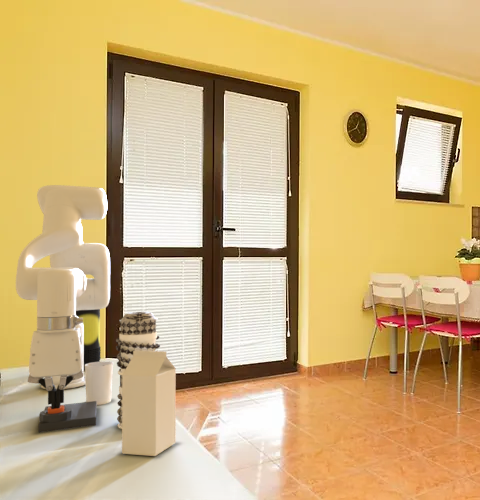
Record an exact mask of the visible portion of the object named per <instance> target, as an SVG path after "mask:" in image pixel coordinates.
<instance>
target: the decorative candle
mask: <svg viewBox="0 0 480 500" xmlns="http://www.w3.org/2000/svg"><path fill="white" fill-rule="evenodd" d="M158 319H159V318H157V317H155V314H153V312H150V311H132V312H126V313H125V314H124V315H123V317H121V319H119V327H120V328H119V331H120V332H119V333H118V336H119V337H117V338H116V339H115V342H116V344H117V345H116V346H115V349H116V351H118V354H117V355H116V359H117V360H118V361H117V362H116V366H117V367H118V368H119V369H118V371H117V374H118V375H119V386H118V394H117V396H116V397H117V399H118V402H116V404H117V406H118V407H119V408H118V409H117V411H116V413H117V415H118V416H117V418H116V420H117V422H118V423H117V428H118V429H120V430H122V374H123V373H124V371H125V369H126V367H127V366H128V364H129V362H130V361H131V359H132V357H133V351H157V350H158V349H159V348H161V345H160V344H159V343H157V340H159V339H160V336H159V335H158V331H157V320H158Z"/></svg>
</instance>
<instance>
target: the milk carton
mask: <svg viewBox="0 0 480 500" xmlns="http://www.w3.org/2000/svg"><path fill="white" fill-rule="evenodd" d="M176 368H177V367H175V365H173V363H172V362H171V361H170V359H169V358H168V357H167V351H164V350H163V351H161V350H156V351H133V357H132V359H131V361H130V362H129V364H128V366H127V367H126V369H125V371H124V373H123V374H122V429H121V454H123V455H136V456H150V457H157V456H158V455H159V454H161V453H163V452H164V451H165V450H167V449H169V448H170V447H172V446H173V445H175V444H176V441H177V438H176V434H177V433H176V431H177V429H176V426H177V423H176V421H177V419H176V418H177V417H176V416H177V415H176V412H177V410H176V405H177V404H176V402H177V401H176V400H177V399H176V398H177V397H176V396H177V395H176V394H177V393H176V392H177V391H176V390H177V389H176V387H177V385H176V384H177V383H176V381H177V379H176V377H177V375H176V374H177V371H176Z"/></svg>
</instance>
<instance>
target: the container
mask: <svg viewBox="0 0 480 500" xmlns="http://www.w3.org/2000/svg"><path fill="white" fill-rule="evenodd" d="M76 316H78V317H79V318H83V326H84V371H83V372H85V364H88V363H93V362H101V357H102V356H101V353H102V352H101V350H102V349H101V347H102V346H101V309H95V310H78V311H76Z"/></svg>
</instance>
